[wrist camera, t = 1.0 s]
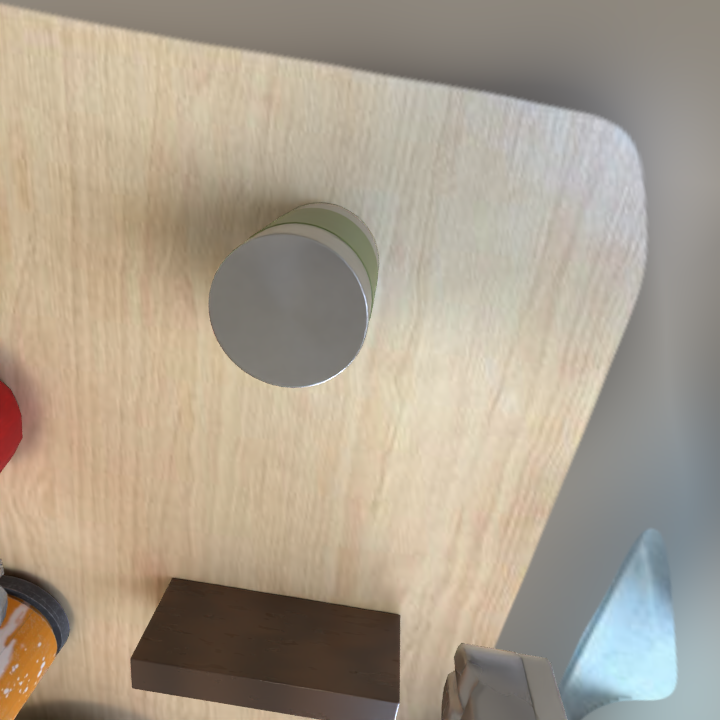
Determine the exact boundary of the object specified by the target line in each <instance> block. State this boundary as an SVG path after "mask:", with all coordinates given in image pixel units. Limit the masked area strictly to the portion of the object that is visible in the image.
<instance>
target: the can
mask: <svg viewBox="0 0 720 720" xmlns="http://www.w3.org/2000/svg"><path fill="white" fill-rule="evenodd" d="M378 269H379V255H378V249H377V246H376V243H375V240H374V238H373V236H372V234H371V232H370V230H369V229H368V227H367V226H366V225H365V224H364V223H363V221H362V220H360V219H359V218H358V217H357V216H356V215H355V214H353V213H352V212H350V211H348V210H346V209H345V208H342V207H340V206H337V205H333V204H328V203H312V204H307V205H303V206H300V207H298V208H296V209H294V210H292V211H290V212H289V213H287V214H285V215H283V216H281V217H280V218H278V219H277V220H275V221H274V222H272V223H271V224H269V225H268V226H266V227H265V228H263V229H262V230H260V231H259V232H257V233H256V234H254V235H253V236H251V237H250V238H249V239H248V240H247V241H246V242H244V243H243V244H242V245H240V246H239V247H237V248H236V249H234V250H233V251H232V252H231V253H230V254H229V255H228V256H227V257H226V258H225V260H224V261H223V262H222V263H221V265H220V266H219V268H218V270H217V272H216V273H215V276H214V279H213V281H212V284H211V288H210V293H209V315H210V321H211V325H212V328H213V331H214V334H215V336H216V338H217V340H218V342H219V344H220V346H221V347H222V349H223V350H224V352H225V353H226V354H227V356H228V357H229V358H230V359H231V360H232V361H233V362H234V363H235V364H236V365H237V366H238V367H239V368H241V369H242V370H243V371H245V372H246V373H248V374H249V375H251V376H252V377H254V378H256V379H259V380H261V381H263V382H266V383H269V384H272V385H276V386H281V387H290V388H297V387H307V386H313V385H316V384H320V383H323V382H325V381H327V380H330V379H331V378H333V377H335V376H337V375H338V374H339V373H341V372H342V371H343V370H345V369H346V368H347V367H348V366H349V365H350V364H351V363H352V361H353V360H354V359H355V357H356V356H357V355H358V353H359V351H360V349H361V347H362V345H363V343H364V340H365V337H366V333H367V328H368V323H369V320H370V317H371V313H372V308H373V302H374V297H375V291H376V286H377V278H378Z"/></svg>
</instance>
